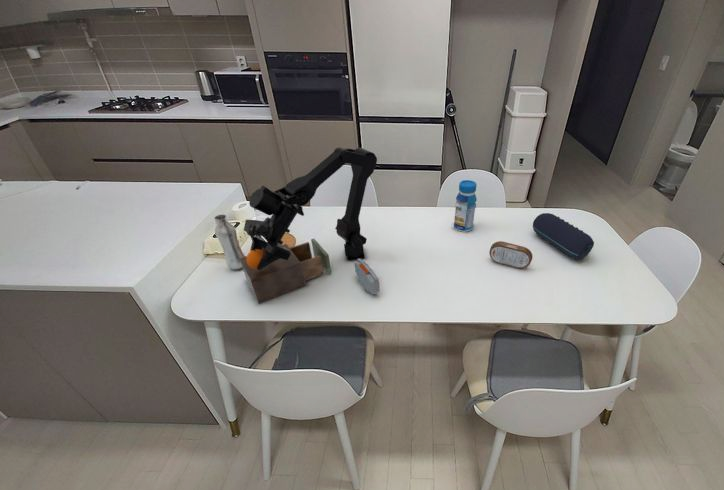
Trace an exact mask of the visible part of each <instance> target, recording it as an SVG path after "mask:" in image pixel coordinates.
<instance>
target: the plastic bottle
mask: <svg viewBox="0 0 724 490" xmlns="http://www.w3.org/2000/svg"><path fill="white" fill-rule="evenodd" d="M214 221H215V224H216V225H215V229H214V234H215V236H216V239H217V240H218V242H219V243H220V246H221V248H222V250H223V254H224V257H225V263H226V265H227V267H228V268H230V269H231V270H240V269H243V268H242V265H241V262H240V259H239V258H243V257H246V256H245V253H244V252H243V250H242V248H241V246H240V243H239V240H238V235H237V229H236V227H235V225H233V224H232V223H230V222H229V219H228V217H227V215H226V214H218V215H215V216H214Z"/></svg>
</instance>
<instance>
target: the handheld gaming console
mask: <svg viewBox="0 0 724 490" xmlns="http://www.w3.org/2000/svg"><path fill="white" fill-rule="evenodd" d="M353 264H354V269H355V270H354V271H355V274H356V275H357V278H358V281H359V283H360V285H361V286H362V287H363V288H364V290H366V291H367V293H370V294H371V295H377V294H379V293H380V291H381V290H380V281H379V277H378V276H377V274H376V273H375V271H374V270H373V269H372V268H371V266H370V265H369V264H368V263H367V262H366V261H365V260H364V259H360V258H359V259H357V260H355V261H354V262H353Z"/></svg>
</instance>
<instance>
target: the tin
mask: <svg viewBox="0 0 724 490" xmlns="http://www.w3.org/2000/svg"><path fill="white" fill-rule="evenodd" d="M489 257H490V259H491V260H492V261H493V262H495V263H496V264H500V265H504V266H508V267H512V268H515V269H526V268H528V267H529V266H530V264H531V263H532V261H533V257H534V255H533V253H532V251H531V250H530V249H529V248H528V247H526V246H523V245H519V244H515V243H510V242H506V241H502V240H500V241H496V242H493V243H492V244H491V245H490V248H489Z"/></svg>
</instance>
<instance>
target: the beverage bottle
mask: <svg viewBox="0 0 724 490" xmlns="http://www.w3.org/2000/svg"><path fill="white" fill-rule="evenodd" d="M477 186H478V185H477V182H476V181H474V180H471V179H463V180H461V181H459V183H458V191H459V192H458V194H457V195H456V197H455V203H454V206H455V209H454V222H453V228H454V229H455V230H456V231H459V232H463V233H464V232H466V233H467V232H471V230H473V228H474V220H475V212H476V208H477V203H476V202H477V196H476V191H477Z"/></svg>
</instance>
